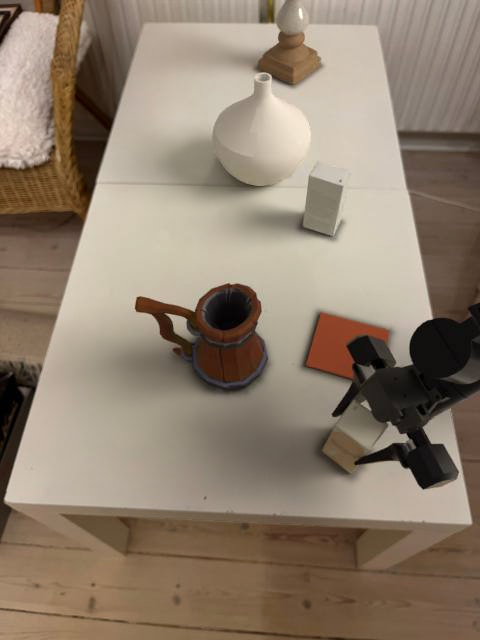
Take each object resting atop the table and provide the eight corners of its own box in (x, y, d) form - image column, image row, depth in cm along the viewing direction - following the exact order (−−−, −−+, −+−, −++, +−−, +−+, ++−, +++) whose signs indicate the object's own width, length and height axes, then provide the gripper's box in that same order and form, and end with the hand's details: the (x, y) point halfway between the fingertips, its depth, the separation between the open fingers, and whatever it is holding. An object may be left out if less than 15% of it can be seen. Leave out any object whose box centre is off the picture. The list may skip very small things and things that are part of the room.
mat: (388, 331, 77) (389, 330, 77) (377, 386, 72) (378, 385, 72) (320, 313, 79) (321, 312, 79) (305, 366, 74) (305, 364, 74)
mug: (144, 384, 73) (121, 334, 60) (159, 319, 79) (142, 261, 66) (263, 396, 72) (267, 347, 59) (270, 329, 78) (274, 272, 65)
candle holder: (321, 65, 116) (336, -53, 96) (293, 85, 112) (302, -33, 92) (285, 48, 120) (292, -68, 100) (256, 68, 116) (258, -50, 96)
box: (320, 451, 67) (332, 422, 58) (338, 428, 69) (352, 396, 59) (352, 476, 65) (370, 451, 56) (370, 451, 67) (390, 423, 58)
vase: (321, 186, 95) (337, 96, 78) (232, 211, 91) (229, 122, 75) (285, 130, 104) (291, 38, 88) (203, 151, 101) (194, 60, 84)
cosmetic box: (340, 221, 90) (352, 169, 80) (333, 237, 88) (344, 186, 78) (309, 211, 91) (317, 159, 81) (301, 227, 89) (308, 175, 79)
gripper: (378, 293, 53) (277, 369, 60) (475, 456, 43) (341, 521, 51) (421, 313, 61) (327, 377, 68) (511, 454, 51) (390, 511, 59)
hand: (344, 439), depth 61 cm, fingers closed on box, 6 cm apart
